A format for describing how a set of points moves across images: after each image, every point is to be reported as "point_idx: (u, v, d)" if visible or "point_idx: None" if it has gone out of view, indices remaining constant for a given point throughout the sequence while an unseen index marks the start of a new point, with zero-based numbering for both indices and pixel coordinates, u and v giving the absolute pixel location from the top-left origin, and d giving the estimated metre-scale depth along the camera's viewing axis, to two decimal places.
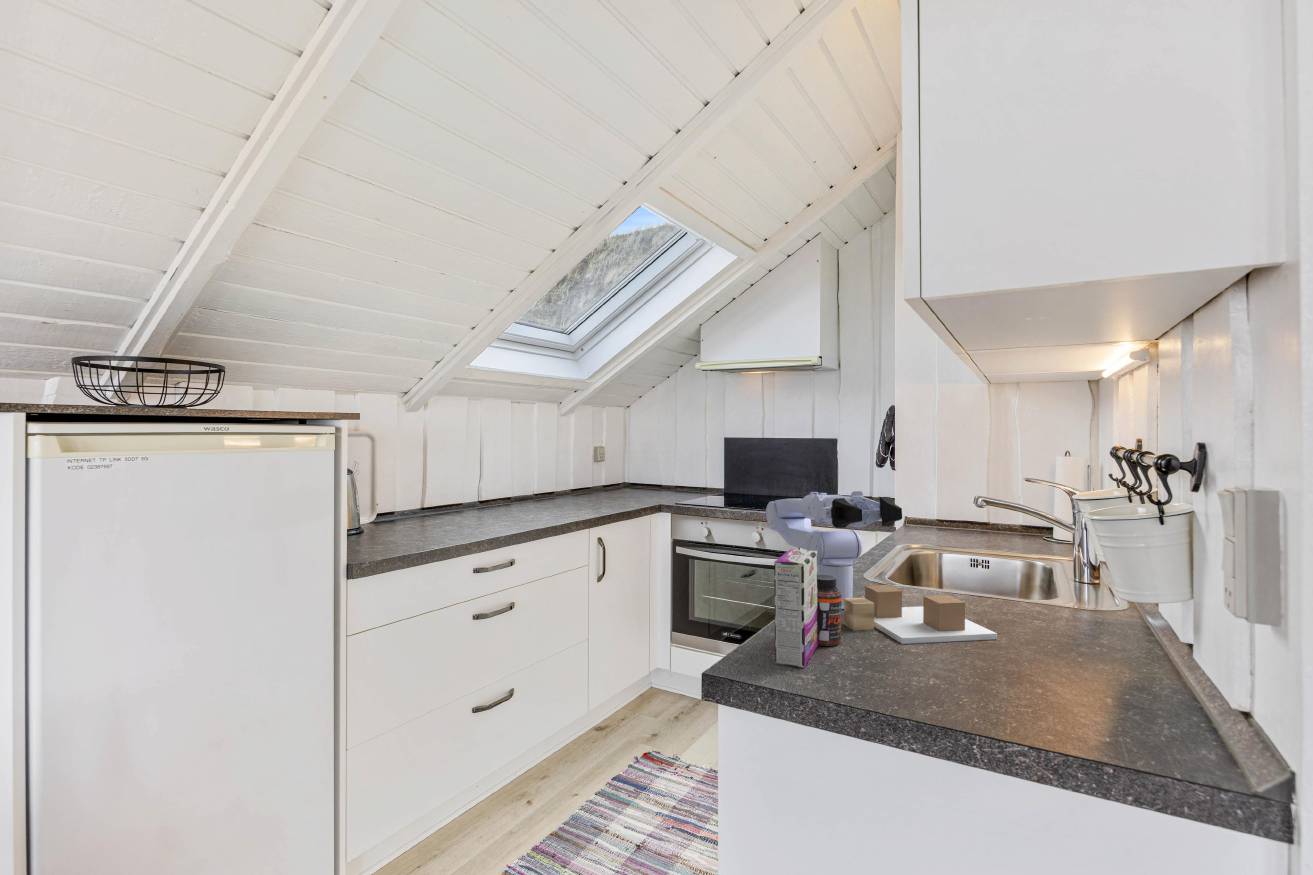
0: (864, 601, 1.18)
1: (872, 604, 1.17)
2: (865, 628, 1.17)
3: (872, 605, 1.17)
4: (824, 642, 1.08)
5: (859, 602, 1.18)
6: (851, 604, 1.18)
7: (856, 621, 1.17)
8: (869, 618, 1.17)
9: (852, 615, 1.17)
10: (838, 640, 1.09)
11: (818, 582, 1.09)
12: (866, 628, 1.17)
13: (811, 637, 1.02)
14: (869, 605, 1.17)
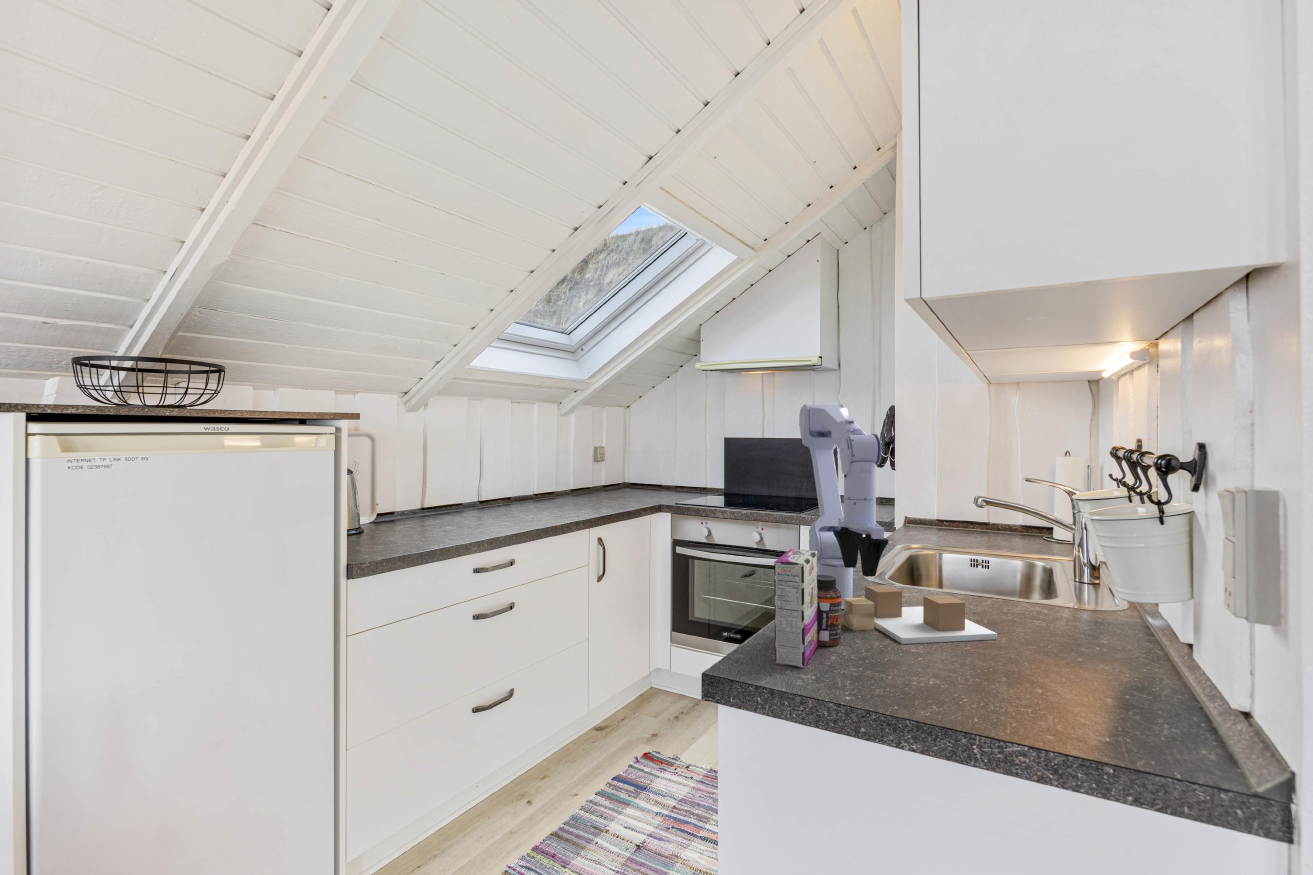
0: (864, 601, 1.18)
1: (872, 604, 1.17)
2: (865, 628, 1.17)
3: (872, 605, 1.17)
4: (824, 642, 1.08)
5: (859, 602, 1.18)
6: (851, 604, 1.18)
7: (856, 621, 1.17)
8: (869, 618, 1.17)
9: (852, 615, 1.17)
10: (838, 640, 1.09)
11: (818, 582, 1.09)
12: (866, 628, 1.17)
13: (811, 637, 1.02)
14: (869, 605, 1.17)
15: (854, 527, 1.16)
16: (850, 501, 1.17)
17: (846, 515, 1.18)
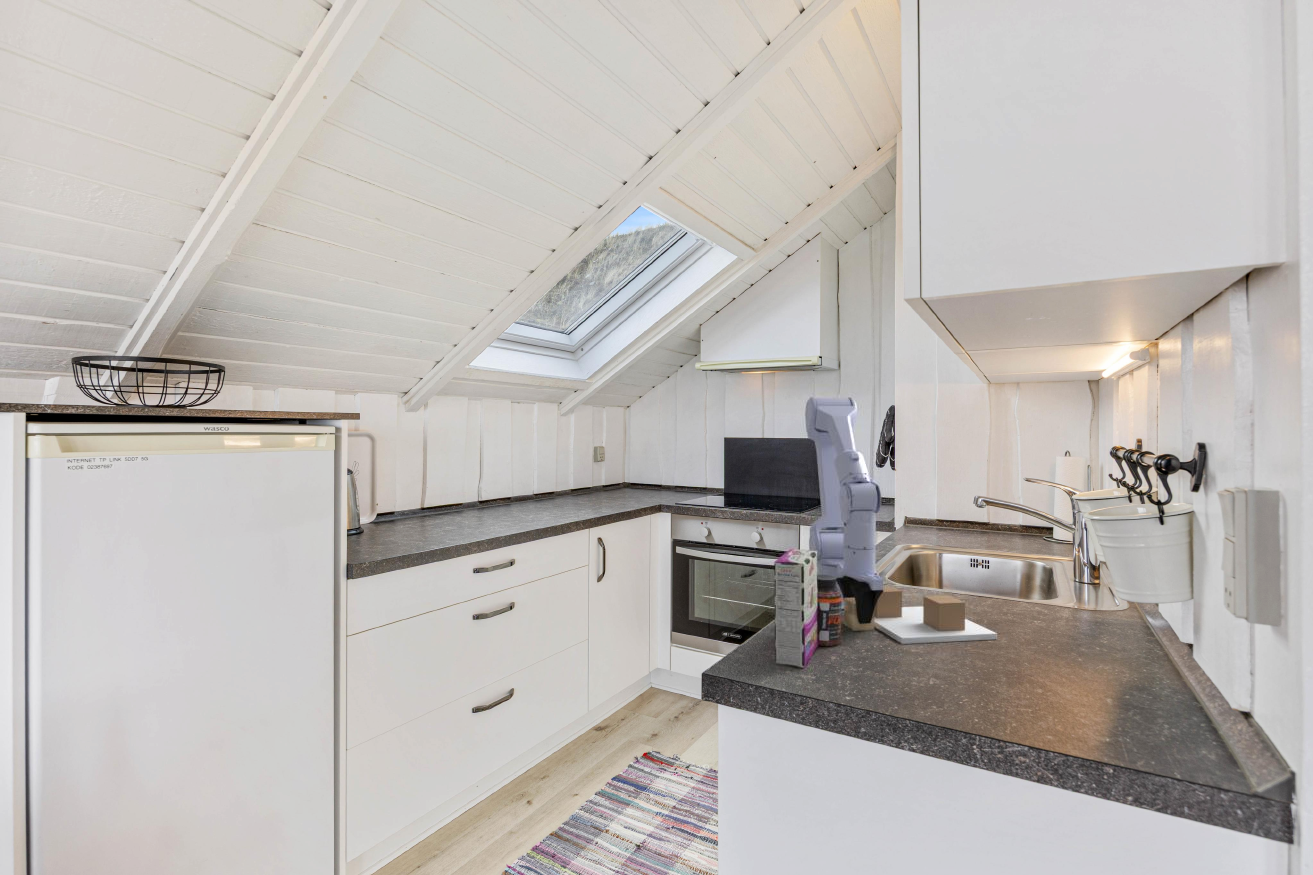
0: None
1: None
2: (865, 628, 1.17)
3: None
4: (824, 642, 1.08)
5: None
6: (851, 604, 1.18)
7: (856, 621, 1.17)
8: None
9: (852, 615, 1.17)
10: (838, 640, 1.09)
11: (818, 582, 1.09)
12: (866, 628, 1.17)
13: (811, 637, 1.02)
14: None
15: (853, 576, 1.16)
16: (850, 550, 1.17)
17: (845, 563, 1.18)
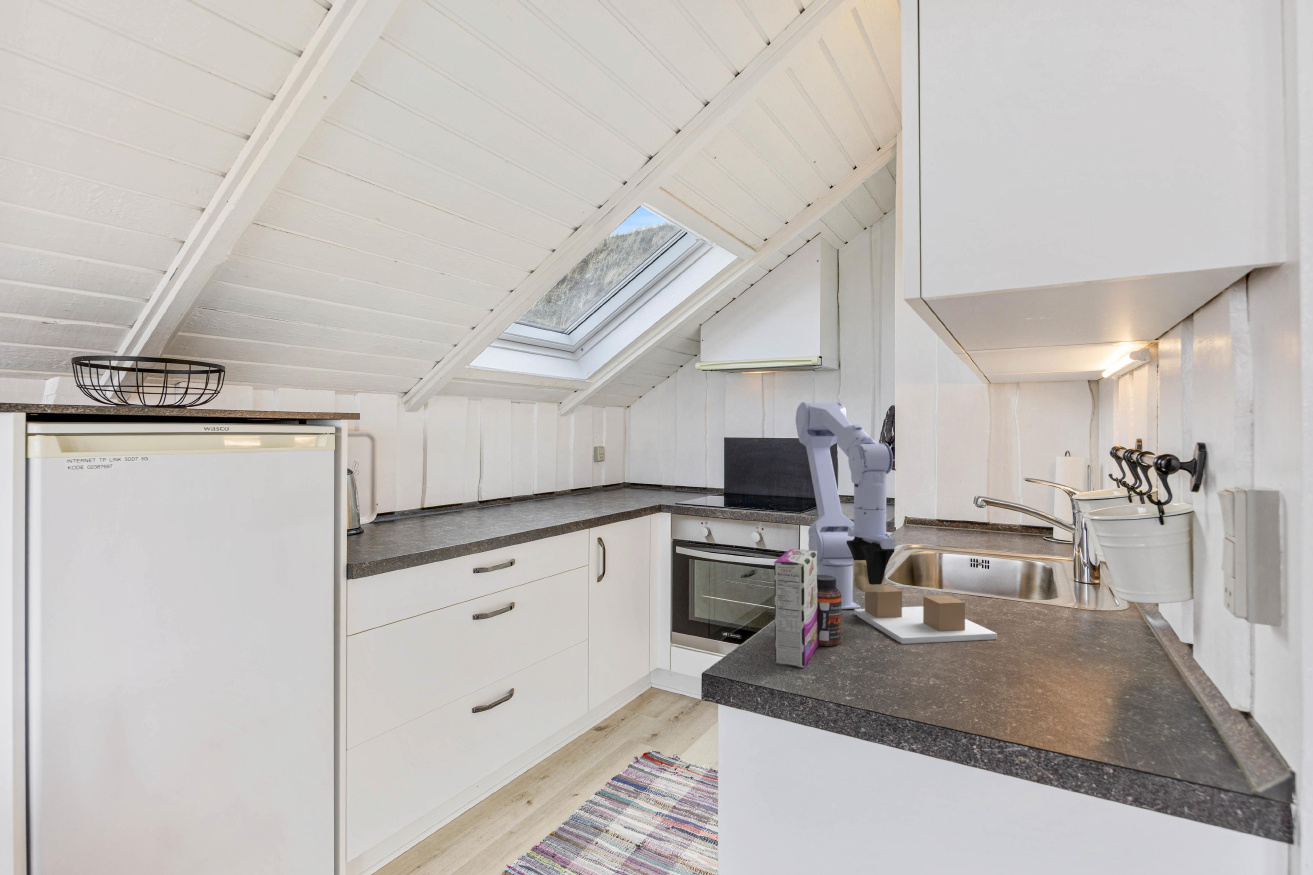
0: None
1: None
2: (875, 589, 1.17)
3: None
4: (824, 642, 1.08)
5: None
6: (861, 566, 1.17)
7: (866, 582, 1.16)
8: None
9: (862, 576, 1.17)
10: (838, 640, 1.09)
11: (818, 582, 1.09)
12: (876, 589, 1.17)
13: (811, 637, 1.02)
14: None
15: (864, 537, 1.16)
16: (860, 511, 1.17)
17: (856, 524, 1.18)
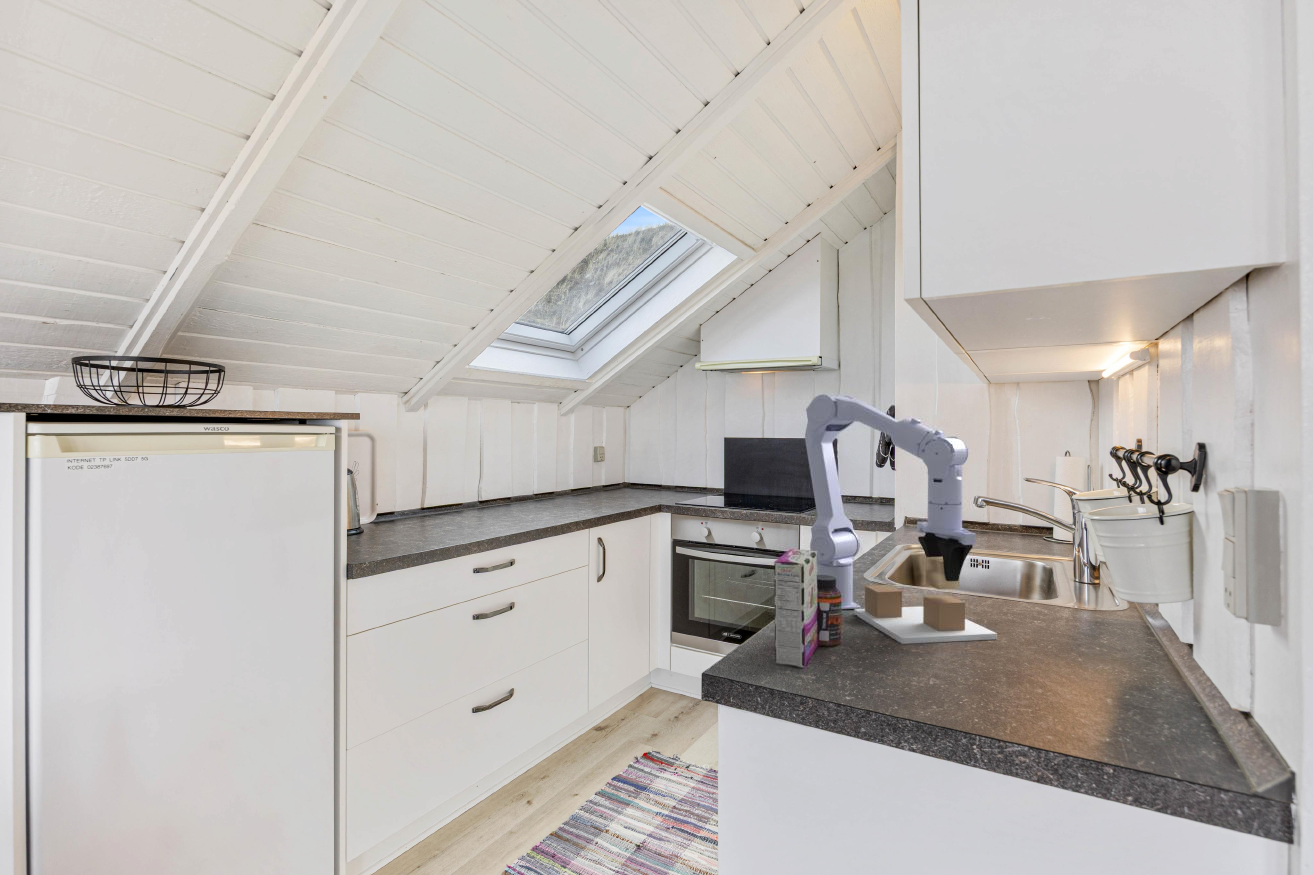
0: None
1: None
2: (950, 586, 1.14)
3: None
4: (824, 642, 1.08)
5: None
6: (935, 562, 1.15)
7: (941, 579, 1.14)
8: None
9: (937, 573, 1.14)
10: (838, 640, 1.09)
11: (818, 582, 1.09)
12: (951, 586, 1.14)
13: (811, 637, 1.02)
14: None
15: (941, 532, 1.13)
16: (936, 506, 1.14)
17: (931, 520, 1.15)
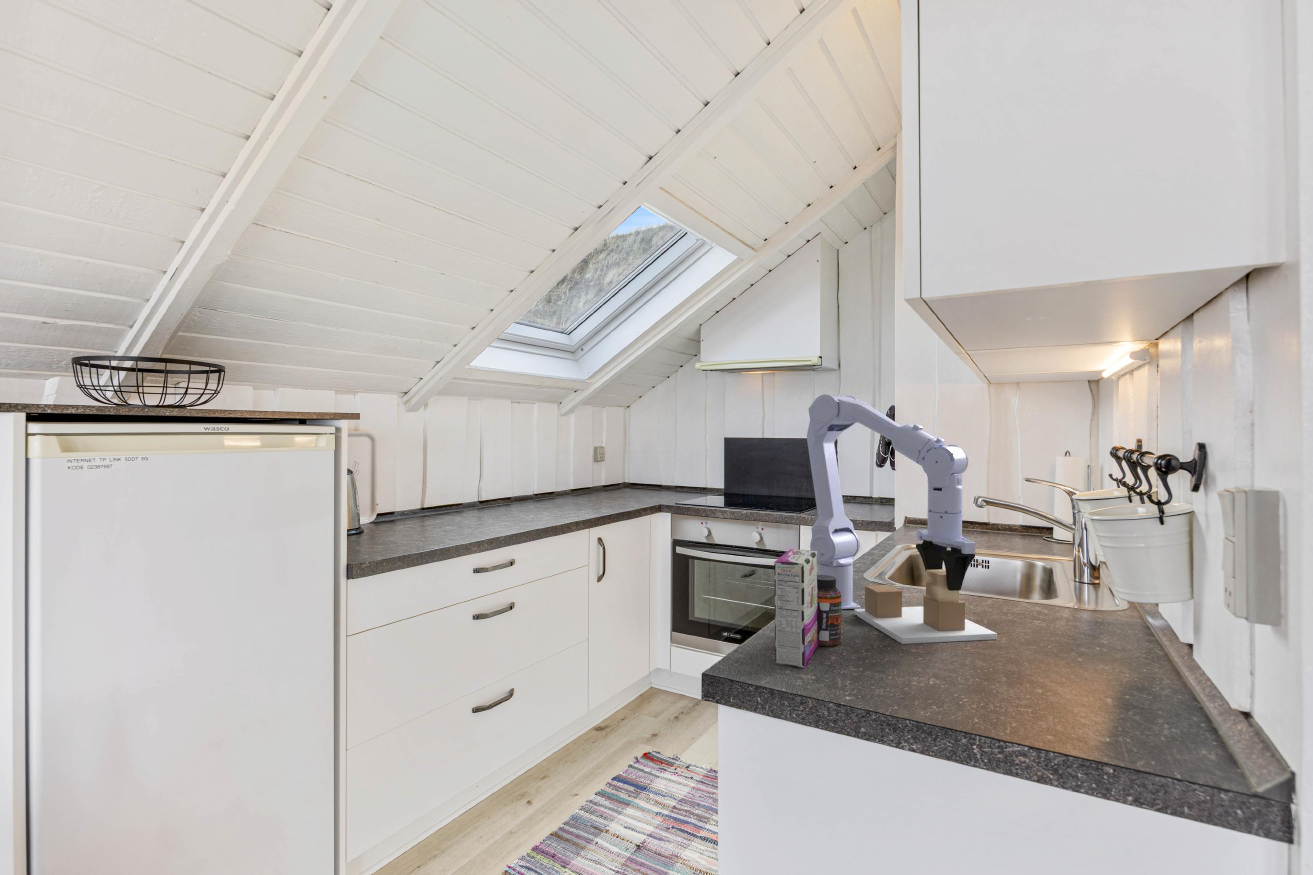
0: None
1: None
2: (950, 599, 1.14)
3: None
4: (824, 642, 1.08)
5: (944, 573, 1.15)
6: (935, 576, 1.15)
7: (941, 593, 1.14)
8: None
9: (937, 586, 1.14)
10: (838, 640, 1.09)
11: (818, 582, 1.09)
12: (951, 599, 1.14)
13: (811, 637, 1.02)
14: None
15: (941, 541, 1.13)
16: (936, 514, 1.14)
17: (931, 528, 1.15)
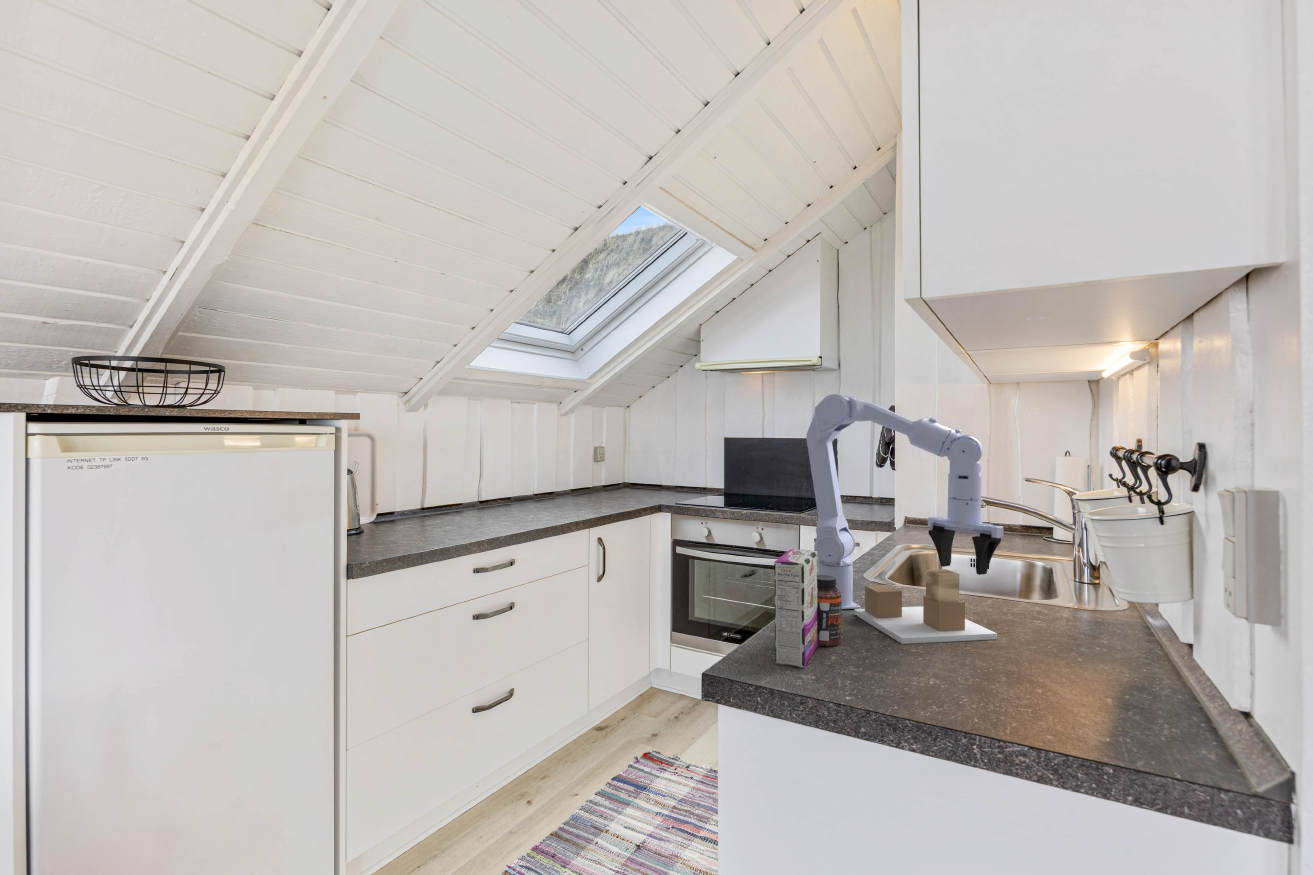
0: (948, 572, 1.16)
1: (957, 575, 1.14)
2: (950, 599, 1.14)
3: (957, 576, 1.14)
4: (824, 642, 1.08)
5: (944, 573, 1.15)
6: (935, 576, 1.15)
7: (941, 593, 1.14)
8: (954, 589, 1.14)
9: (937, 586, 1.14)
10: (838, 640, 1.09)
11: (818, 582, 1.09)
12: (951, 599, 1.14)
13: (811, 637, 1.02)
14: (954, 576, 1.14)
15: (968, 527, 1.18)
16: (962, 501, 1.19)
17: (956, 515, 1.20)
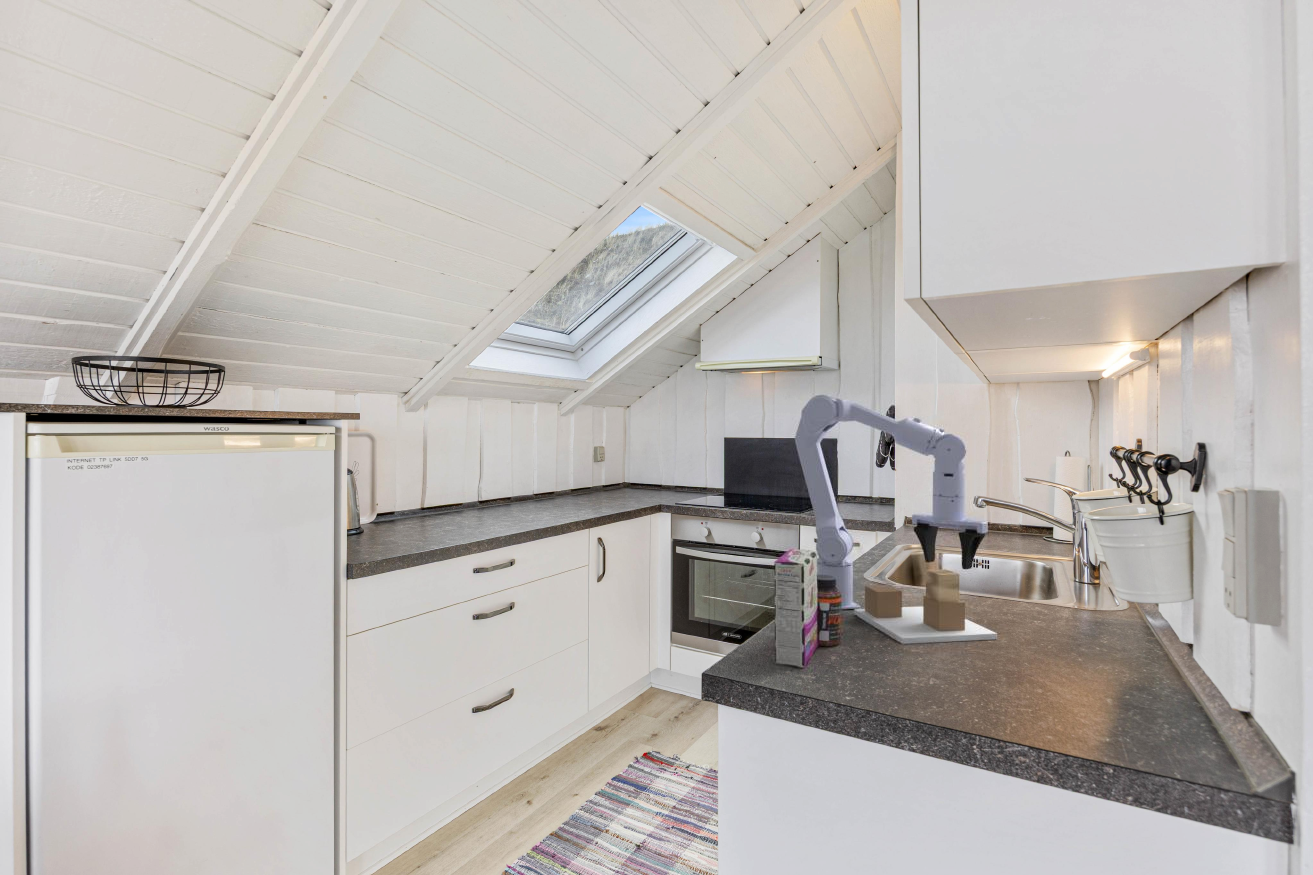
0: (948, 572, 1.16)
1: (957, 575, 1.14)
2: (950, 599, 1.14)
3: (957, 576, 1.14)
4: (824, 642, 1.08)
5: (944, 573, 1.15)
6: (935, 576, 1.15)
7: (941, 593, 1.14)
8: (954, 589, 1.14)
9: (937, 586, 1.14)
10: (838, 640, 1.09)
11: (818, 582, 1.09)
12: (951, 599, 1.14)
13: (811, 637, 1.02)
14: (954, 576, 1.14)
15: (954, 523, 1.21)
16: (948, 498, 1.22)
17: (942, 512, 1.23)
